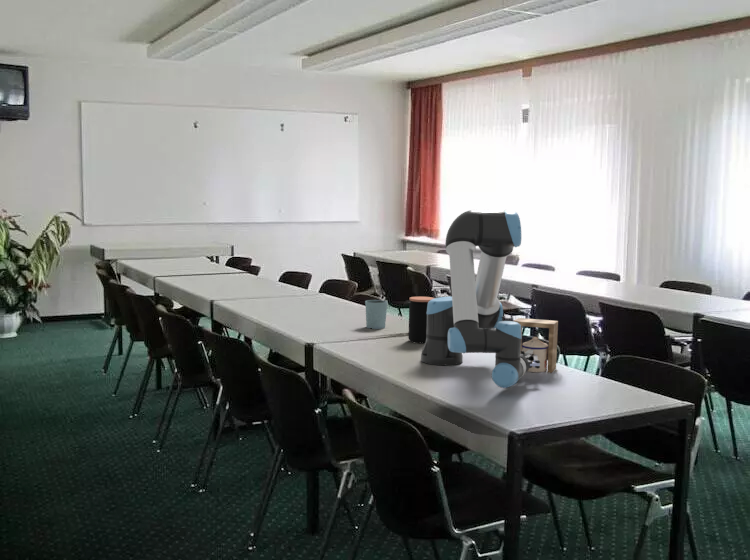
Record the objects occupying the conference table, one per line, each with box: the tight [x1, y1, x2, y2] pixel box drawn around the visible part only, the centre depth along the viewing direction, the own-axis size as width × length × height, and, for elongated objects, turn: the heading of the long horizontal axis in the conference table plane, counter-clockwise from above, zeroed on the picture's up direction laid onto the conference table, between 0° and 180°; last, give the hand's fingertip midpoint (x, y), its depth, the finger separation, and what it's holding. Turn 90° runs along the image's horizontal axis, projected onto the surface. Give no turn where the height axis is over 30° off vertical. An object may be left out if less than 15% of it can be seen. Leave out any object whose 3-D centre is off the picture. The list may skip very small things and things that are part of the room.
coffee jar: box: [407, 296, 436, 344], centre depth 327 cm, size 11×11×18 cm
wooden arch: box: [513, 317, 559, 374], centre depth 278 cm, size 14×8×17 cm, turn 67°
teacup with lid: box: [521, 336, 549, 373], centre depth 278 cm, size 12×9×12 cm
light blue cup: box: [364, 299, 388, 330], centre depth 360 cm, size 10×10×12 cm
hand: (530, 353), depth 272 cm, fingers closed
